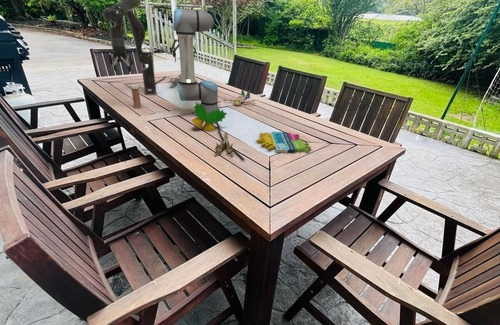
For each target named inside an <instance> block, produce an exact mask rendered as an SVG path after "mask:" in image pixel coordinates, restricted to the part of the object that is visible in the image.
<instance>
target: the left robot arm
mask: <svg viewBox="0 0 500 325" xmlns="http://www.w3.org/2000/svg"><path fill="white" fill-rule="evenodd" d="M140 6H141V0H121V1H118V2H116V3H115V4H114V5H111V6H108V7H106V8H104V10H103V12H102V14H103V18H104V19H105V20H106V21H107V22H111V23H115V25H113V26H110V27H109V34H110V35H109V36H110V43H111V48H112V53H110V54H108V64H109V65H112V67H113V71H114V72H118V66H117V64H118V63H124V64H126V65H127V71H128V73H130V72H132V66H134V61H133V60H134V59H133V56H132V54H131V55H130V54H129V55H128V54H127V50H126V43H125V39H124V34H123V23H124V16H127V20H128V23H129V27H130V32H131V34H132V38H133V42H134V46H135V49H136V55H137V60H138V62H139V64H141V65H147V67H144V68H142V69H141V73H142V80H143V88H144V89H143V90H144V94H145V95H146V96H155V95H157V86H156V84H158V83H160V82H161V81H163V80H165V79H166V77H167V76H164V77H163V78H161V79H159V80H158V81H156V77H155V64H154V55H153V53H152V52H150V51H149V52H148V51H143V45H144V41H145V39H146V31H145V26H144V24H143V23H142V22H141V20H140V19H139V18H138V17H137V16H136V14H135V13H134V11H133V10H135V9H137V8H139V7H140ZM113 58H114V61H113Z"/></svg>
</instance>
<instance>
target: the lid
mask: <svg viewBox="0 0 500 325" xmlns="http://www.w3.org/2000/svg"><path fill="white" fill-rule="evenodd" d="M129 88H130V90H131V89H138V88H139V89H140V85H139V84H136V83H135V84H130V85H129Z"/></svg>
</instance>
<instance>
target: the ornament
mask: <svg viewBox="0 0 500 325" xmlns="http://www.w3.org/2000/svg"><path fill="white" fill-rule="evenodd" d="M219 110H220V108H219V109H217V110H216V111H214V110H212V112H211V113H208V112H206V109H204V106H201V103H198V102H196V101H195V105H194V106H193V112H194V113H195V118H192V119H191V122H192V123H193V125H195V127H197V128H198V129H202V130H203V131H206V132H212V131H213V132H214V131H215V130H216V126H215V124H216V123H218V124H219V122H223V119H226V115H227V114H228V113H227V112H224V110H223V109H221V110H220V111H219ZM207 113H208V115H207ZM214 123H215V124H214Z"/></svg>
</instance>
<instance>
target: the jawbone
mask: <svg viewBox="0 0 500 325" xmlns="http://www.w3.org/2000/svg"><path fill="white" fill-rule="evenodd" d="M223 135H224V136H223V139H224V141H223V140H222V139H221V142H220V144H218V142H215V144H216V146H215V148H214V149H215V152H214V154H215V155H217V156H218V155H220V153H221V152H223V151H224V150H226V152H227V153H228V155H229V156H233V155H234V154H233V153H234V151H233V149H234V148H233V144H234V143H230V140H228V139H229V138H228V137H229V136H228V135H229V133H228V131H226V132H224V134H223Z"/></svg>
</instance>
